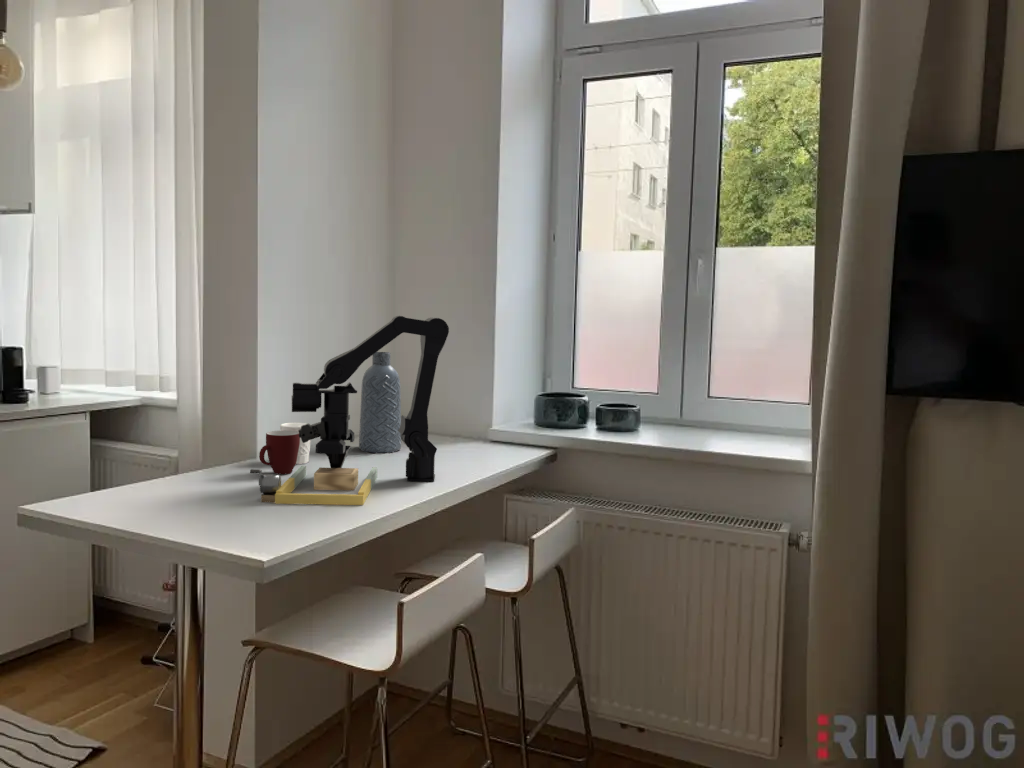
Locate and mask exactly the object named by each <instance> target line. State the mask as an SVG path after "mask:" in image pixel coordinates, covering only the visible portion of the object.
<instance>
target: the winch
mask: <svg viewBox="0 0 1024 768" xmlns="http://www.w3.org/2000/svg"><path fill="white" fill-rule="evenodd" d="M249 471H250V474H258V486H259V491H260V494H261V496H260V497H261V499H260V500H261V503H275V494H276V491H277V490H278V489H279V488H280V487H281V486H282V476H281V474H263V472H262V469H260V468H258V469H256V468H255V469H254V468H253V469H252V468H251V469H250V470H249Z"/></svg>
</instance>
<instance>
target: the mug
mask: <svg viewBox="0 0 1024 768" xmlns="http://www.w3.org/2000/svg"><path fill="white" fill-rule="evenodd" d="M299 445H300V437H299V432H297V431H286V430H282V431H281V430H270V431H267V432H266V433H265V445H263V446H262V447H261V448H260V450H259V455H258V457H259V460H260V463H261V464H263V465H264V466H265V465H266V466H270V467H271V469H272V471H273V473H274V475H290V474H291V473H292V472H293V471H294V468H295V466H296V465H297V464H296V461H297V456H298V451H299ZM266 452H267V459H268V462H267V461H266V459H265V454H266Z"/></svg>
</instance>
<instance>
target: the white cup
mask: <svg viewBox="0 0 1024 768" xmlns="http://www.w3.org/2000/svg"><path fill="white" fill-rule="evenodd" d="M306 424H308V422H285V423H281V424H280V426H279V427H280V429H279V431H282V430H286V431H297V432H299V431H298V430H300V429H301V426H302V425H306ZM309 424H310V425H312V424H311V423H309ZM310 450H311V440H308V442H305V443H303V442H302V440H301V438H300V445H299V451H298V456H297V461H296V464H295V465H304V464H307V463H309V461H310Z"/></svg>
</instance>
